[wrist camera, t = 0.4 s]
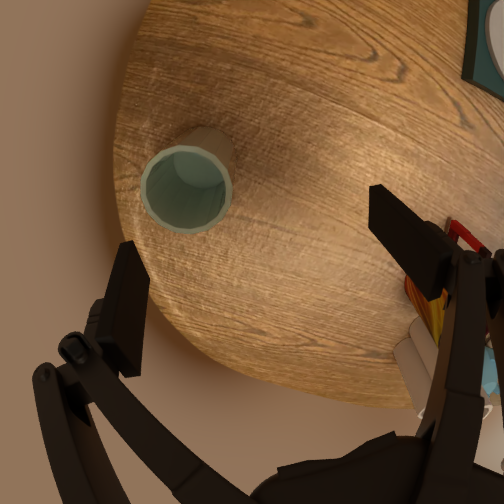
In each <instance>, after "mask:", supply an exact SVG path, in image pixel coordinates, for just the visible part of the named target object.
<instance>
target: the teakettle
mask: <svg viewBox="0 0 504 504" xmlns="http://www.w3.org/2000/svg"><path fill="white" fill-rule="evenodd" d="M497 379H498V375H497V369H496V363H495V357H494V352H493V348H489V347H486V346H485V353H484V366H483V376H482V386H483V388H484V390H485V392H486V394H487V396H488V398H489V397H490V396H489V395H490V394H491V393H492V391H493V392H494V393H496V394H499V393H500V389H499V385H498V383H497Z"/></svg>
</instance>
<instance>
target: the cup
mask: <svg viewBox="0 0 504 504" xmlns="http://www.w3.org/2000/svg"><path fill="white" fill-rule="evenodd" d="M236 164H237V154H236V150H235V147H234V145H233V143H232V141H231V140H230V139H229V138H228V137H227V136H226V135H225V134H224V133H223V132H221V131H219V130H217V129H215V128H211V127H196V128H192V129H190V130H187V131H185V132H184V133H183V134H181V135H180V136H179V137H178V138H176V139H175V140H174V141H172V142H171V143H170V144H169V145H168V146H166V147H165V148H164V149H163V150H161V151H160V152H159V153H158V154H157V155H156V156H155V157H154V158H152V159H151V160H150V161H149V162H148V163H147V165H146V168H145V170H144V172H143V175H142V177H141V199H142V201H143V204H144V206H145V208H146V211H147V213H148V214H149V215H150V216H151V217H152V218H153V219H154V220H155V221H156V222H157V223H158V224H159V225H160V226H162V227H164V228H166V229H168V230H170V231H173V232H175V233H184V234H195V233H199V232H203V231H206V230H209V229H210V228H212V227H213V226H214V225H216V224H217V223H219V222H220V221H221V220H222V219H223V218H224V216H225V214H226V212H227V211H228V209H229V207H230V206H231V201H232V193H233V186H234V179H235V172H236Z"/></svg>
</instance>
